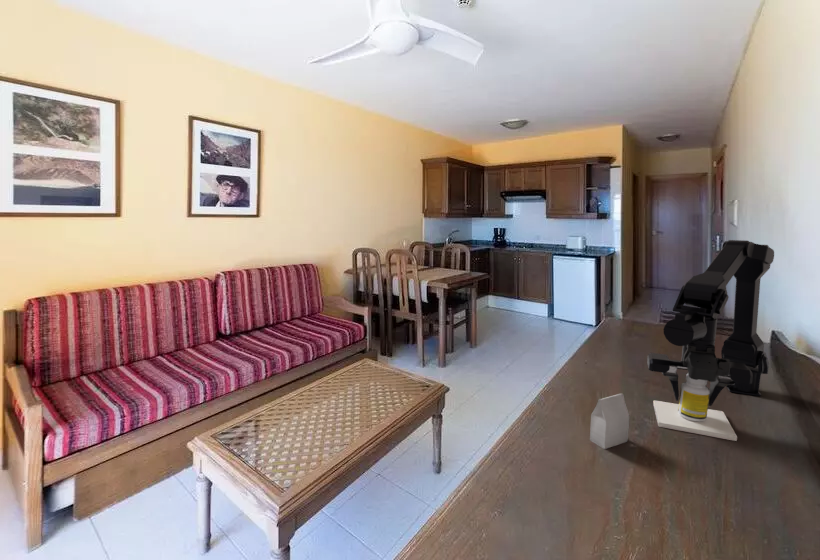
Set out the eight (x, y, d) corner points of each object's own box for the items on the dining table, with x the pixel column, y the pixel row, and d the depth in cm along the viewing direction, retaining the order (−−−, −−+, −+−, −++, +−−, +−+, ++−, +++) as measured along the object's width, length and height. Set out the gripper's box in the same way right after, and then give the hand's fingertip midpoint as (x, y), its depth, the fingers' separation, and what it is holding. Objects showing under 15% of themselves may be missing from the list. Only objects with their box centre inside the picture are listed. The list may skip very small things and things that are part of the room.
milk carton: (627, 441, 83) (630, 397, 81) (604, 449, 80) (607, 403, 79) (612, 433, 86) (615, 390, 85) (589, 440, 84) (592, 396, 82)
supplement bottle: (711, 423, 87) (716, 382, 86) (684, 421, 88) (689, 380, 87) (698, 412, 93) (703, 372, 91) (673, 409, 94) (677, 370, 92)
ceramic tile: (722, 415, 93) (722, 411, 93) (736, 441, 82) (737, 436, 82) (653, 403, 99) (653, 400, 99) (658, 426, 88) (658, 422, 88)
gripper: (653, 342, 85) (648, 410, 87) (765, 354, 76) (756, 428, 79) (649, 329, 94) (644, 390, 97) (748, 338, 86) (740, 404, 88)
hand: (692, 402), depth 90 cm, fingers open, 6 cm apart
